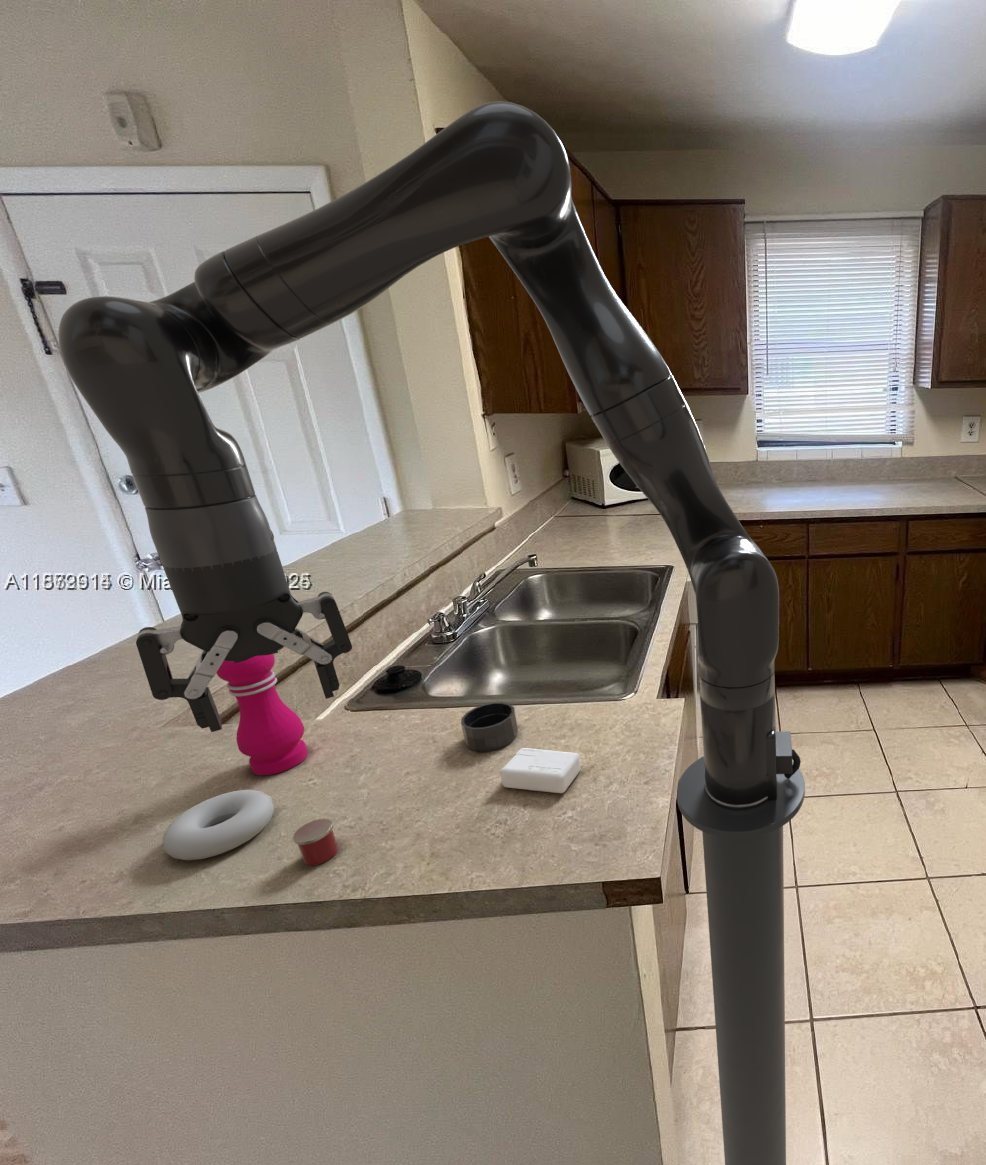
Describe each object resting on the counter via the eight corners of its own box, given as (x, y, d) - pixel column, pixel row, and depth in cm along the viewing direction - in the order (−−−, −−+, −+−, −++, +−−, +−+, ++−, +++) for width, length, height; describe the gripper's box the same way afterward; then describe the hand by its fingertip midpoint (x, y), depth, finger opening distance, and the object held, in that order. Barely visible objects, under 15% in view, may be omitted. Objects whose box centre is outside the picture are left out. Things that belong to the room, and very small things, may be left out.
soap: (583, 769, 82) (580, 751, 81) (564, 796, 77) (560, 777, 76) (524, 763, 83) (520, 745, 82) (500, 789, 78) (497, 770, 77)
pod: (347, 842, 70) (339, 818, 69) (326, 866, 66) (317, 841, 65) (317, 843, 70) (308, 818, 68) (294, 867, 66) (284, 842, 65)
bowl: (525, 723, 93) (521, 701, 91) (507, 752, 86) (502, 728, 85) (479, 724, 93) (474, 702, 91) (457, 753, 86) (451, 729, 84)
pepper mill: (322, 743, 88) (282, 621, 81) (294, 774, 82) (247, 644, 75) (268, 749, 87) (222, 625, 80) (235, 781, 80) (182, 649, 74)
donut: (147, 855, 68) (203, 876, 65) (136, 832, 67) (192, 851, 64) (244, 799, 77) (297, 815, 74) (235, 777, 76) (289, 792, 73)
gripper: (95, 580, 45) (172, 759, 50) (325, 544, 54) (369, 699, 59) (107, 558, 50) (176, 722, 56) (315, 528, 59) (356, 672, 65)
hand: (275, 710), depth 57 cm, fingers open, 8 cm apart
